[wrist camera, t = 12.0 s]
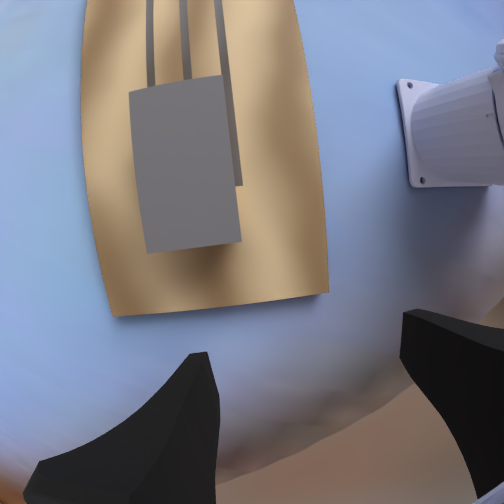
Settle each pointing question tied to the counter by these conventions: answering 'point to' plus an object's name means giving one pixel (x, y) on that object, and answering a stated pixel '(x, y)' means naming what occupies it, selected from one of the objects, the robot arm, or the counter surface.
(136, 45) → the board
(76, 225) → the counter surface
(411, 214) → the counter surface
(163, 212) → the block
